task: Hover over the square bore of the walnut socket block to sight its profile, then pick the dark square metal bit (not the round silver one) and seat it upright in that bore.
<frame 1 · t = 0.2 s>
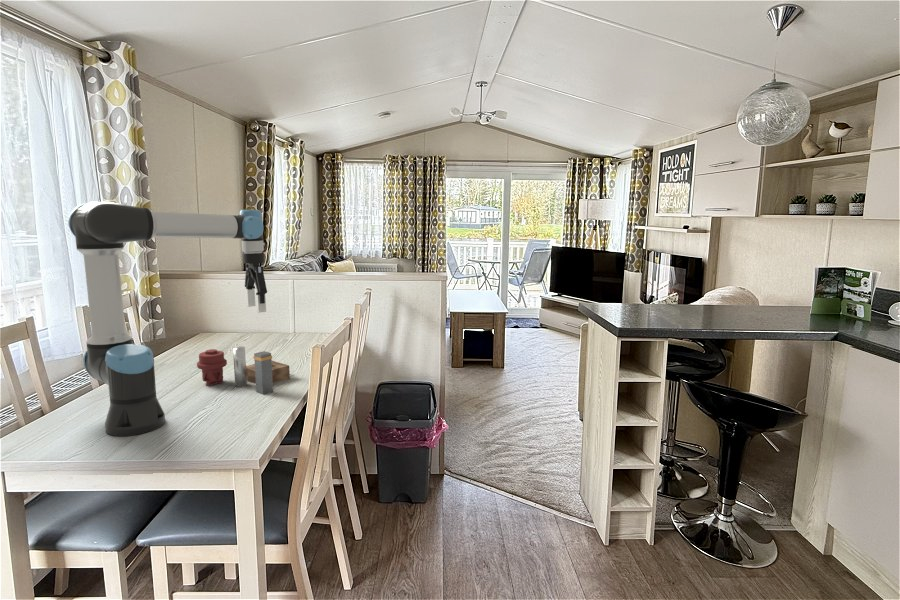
hand: (256, 309, 199), 26 cm above the table, fingers open, 13 cm apart
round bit: (241, 385, 194), on the table
mechanical component: (213, 383, 196), on the table
socket block: (266, 379, 201), on the table
square bit: (264, 391, 187), on the table
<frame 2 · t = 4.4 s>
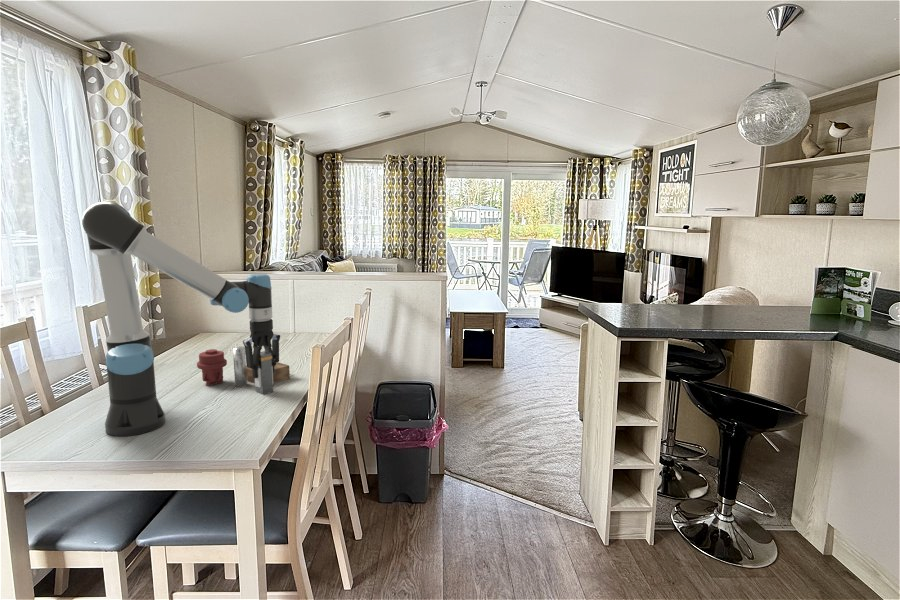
hand: (264, 384, 186), 3 cm above the table, fingers closed on square bit, 4 cm apart
square bit: (264, 391, 187), on the table, touching gripper
everything else where it was.
when the fingers open (6 cm above the table, at t = 8.5 s): square bit drops 3 cm, resting in socket block.
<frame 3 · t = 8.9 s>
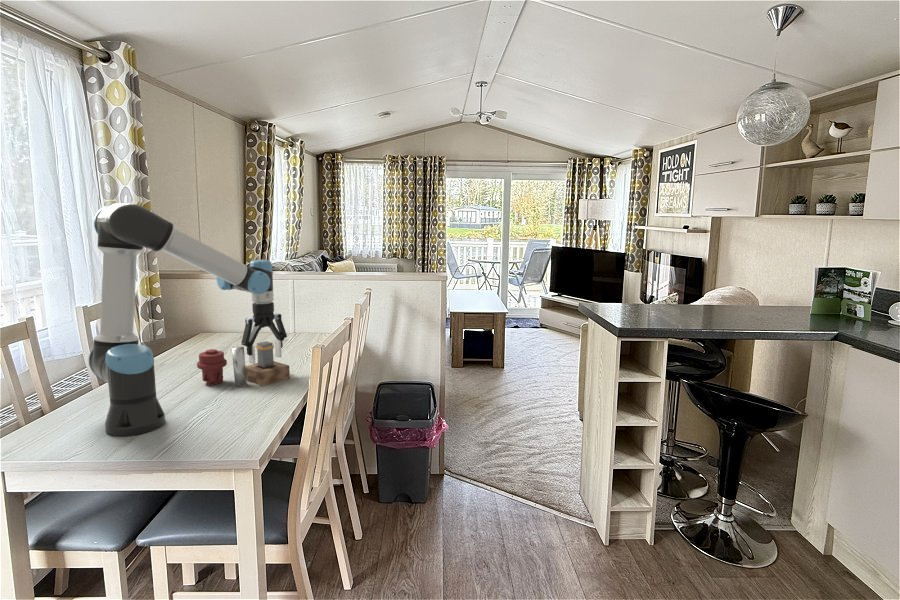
hand: (265, 360, 200), 7 cm above the table, fingers open, 10 cm apart
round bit: (241, 384, 194), on the table, touching gripper
square bit: (266, 379, 201), resting in socket block
everything else where it was.
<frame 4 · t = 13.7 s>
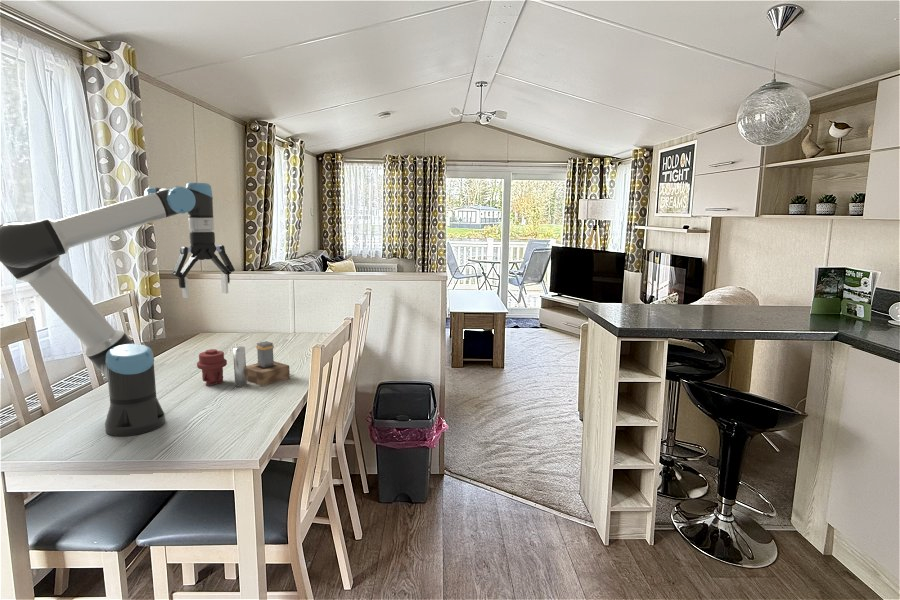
hand: (206, 295, 177), 35 cm above the table, fingers open, 13 cm apart
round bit: (241, 385, 194), on the table
everything else where it was.
at the end: square bit 0.1 cm off-centre on the socket block, point 0.0 cm above the socket block's base; square bit tilted 0°; the gripper is holding nothing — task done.
